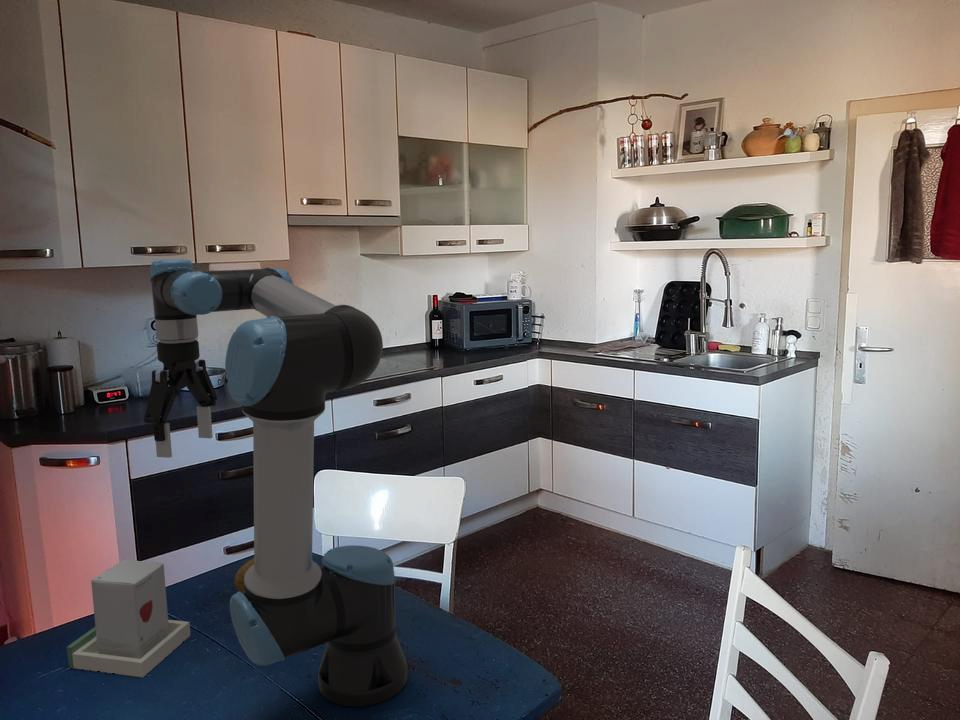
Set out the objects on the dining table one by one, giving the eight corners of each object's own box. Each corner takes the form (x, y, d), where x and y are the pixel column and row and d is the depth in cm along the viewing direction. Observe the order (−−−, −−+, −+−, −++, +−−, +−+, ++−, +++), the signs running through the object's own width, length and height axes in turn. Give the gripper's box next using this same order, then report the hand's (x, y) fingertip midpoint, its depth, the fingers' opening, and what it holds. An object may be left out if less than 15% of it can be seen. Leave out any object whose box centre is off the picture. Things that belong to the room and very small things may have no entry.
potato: (298, 579, 166) (296, 545, 164) (268, 610, 152) (266, 573, 151) (258, 575, 168) (256, 542, 166) (225, 605, 154) (222, 569, 153)
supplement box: (140, 663, 132) (133, 584, 130) (96, 657, 134) (88, 579, 132) (171, 636, 141) (165, 562, 138) (130, 631, 143) (123, 558, 140)
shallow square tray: (190, 635, 143) (188, 616, 142) (142, 677, 129) (140, 656, 129) (122, 627, 146) (120, 608, 145) (68, 667, 132) (66, 647, 132)
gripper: (197, 331, 156) (205, 429, 159) (116, 349, 132) (126, 464, 135) (230, 332, 154) (236, 431, 158) (153, 350, 130) (163, 467, 134)
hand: (186, 447), depth 146 cm, fingers open, 13 cm apart
